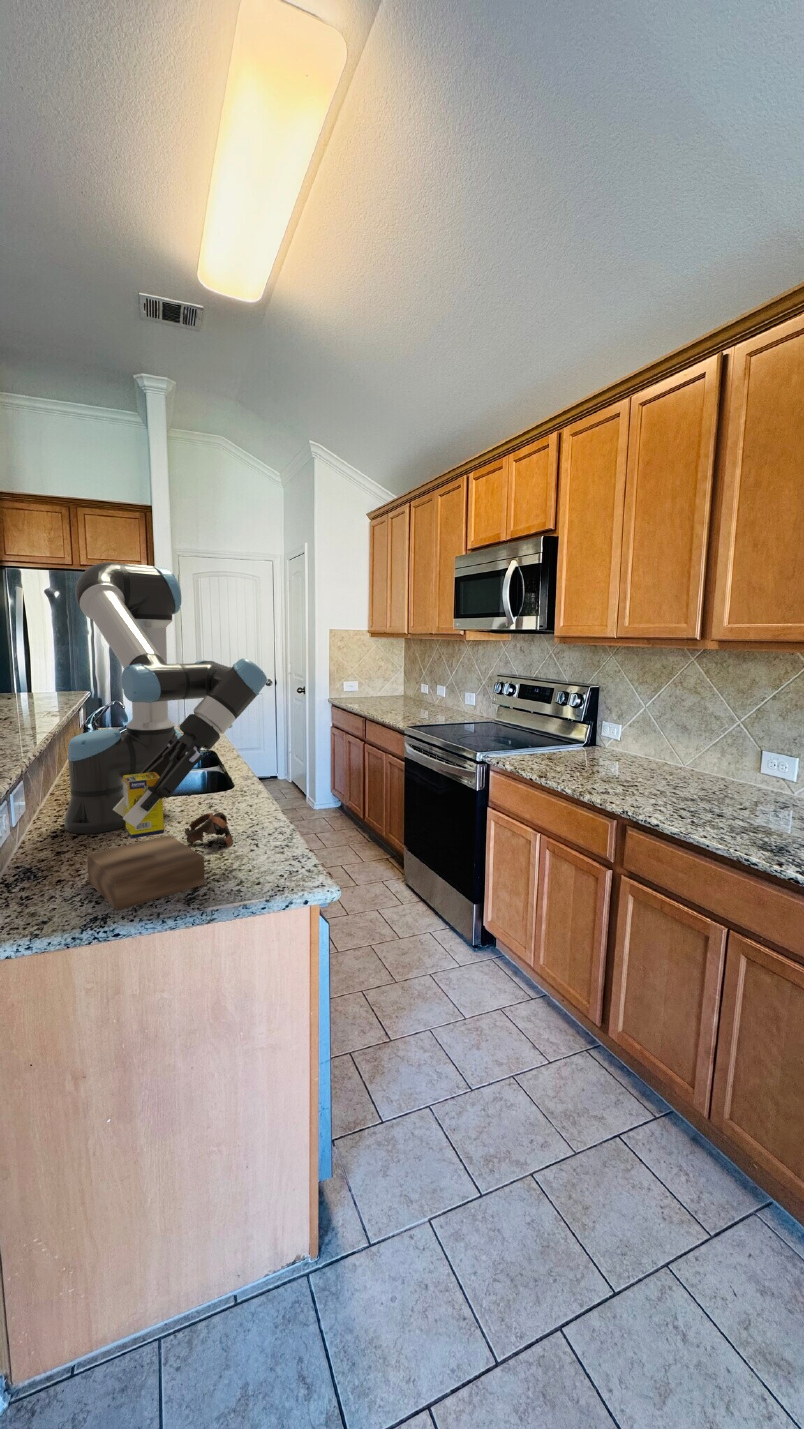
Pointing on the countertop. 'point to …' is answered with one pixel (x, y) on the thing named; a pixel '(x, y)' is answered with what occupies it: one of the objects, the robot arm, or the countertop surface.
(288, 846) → the countertop surface
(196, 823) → the broken clay pot
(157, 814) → the supplement box
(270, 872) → the countertop surface
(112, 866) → the walnut block
